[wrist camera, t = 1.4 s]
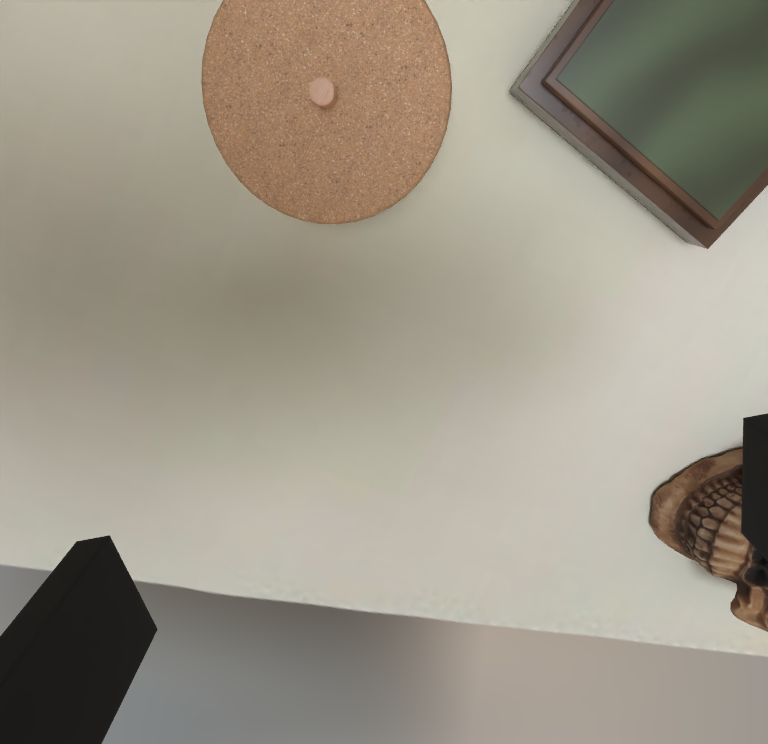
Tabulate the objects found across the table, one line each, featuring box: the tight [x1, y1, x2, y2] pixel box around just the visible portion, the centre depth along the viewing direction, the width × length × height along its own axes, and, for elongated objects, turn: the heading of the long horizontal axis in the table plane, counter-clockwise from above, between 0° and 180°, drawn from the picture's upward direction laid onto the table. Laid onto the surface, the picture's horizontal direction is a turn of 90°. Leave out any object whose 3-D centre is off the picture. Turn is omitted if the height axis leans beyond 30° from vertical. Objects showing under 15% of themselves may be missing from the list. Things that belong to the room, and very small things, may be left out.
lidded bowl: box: [202, 0, 452, 224], centre depth 26 cm, size 11×11×9 cm
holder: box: [509, 0, 768, 249], centre depth 28 cm, size 14×14×3 cm
